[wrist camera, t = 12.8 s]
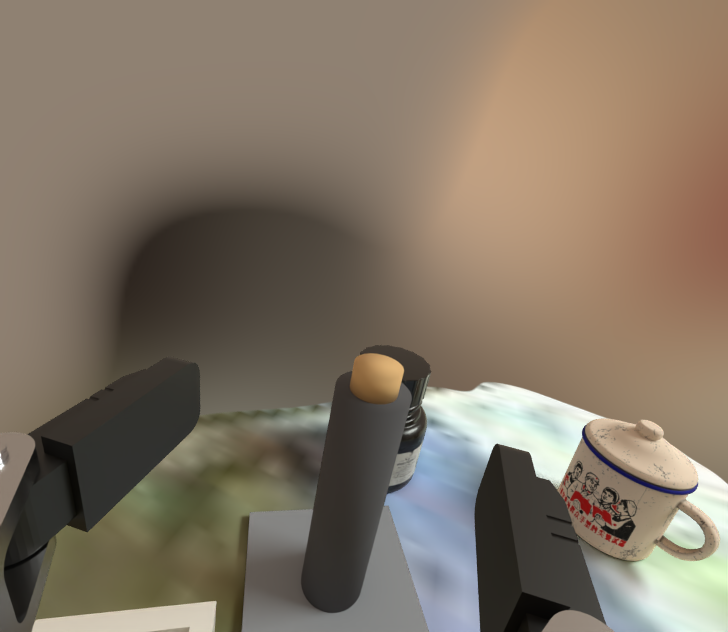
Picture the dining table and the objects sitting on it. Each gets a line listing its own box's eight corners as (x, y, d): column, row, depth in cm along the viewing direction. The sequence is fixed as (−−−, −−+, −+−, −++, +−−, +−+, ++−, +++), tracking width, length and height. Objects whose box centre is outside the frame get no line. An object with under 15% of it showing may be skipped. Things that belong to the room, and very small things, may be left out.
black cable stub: (355, 548, 30) (403, 349, 24) (368, 608, 26) (430, 388, 20) (299, 553, 29) (334, 344, 23) (303, 616, 25) (347, 385, 19)
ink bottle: (411, 510, 35) (444, 400, 31) (319, 485, 36) (338, 375, 32) (414, 442, 44) (440, 350, 40) (341, 424, 45) (358, 332, 41)
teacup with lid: (533, 497, 39) (574, 402, 35) (585, 477, 44) (628, 391, 40) (656, 616, 30) (733, 504, 26) (708, 576, 34) (781, 475, 30)
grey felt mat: (387, 509, 35) (388, 505, 34) (438, 671, 24) (440, 666, 24) (249, 516, 32) (249, 512, 31) (236, 706, 21) (237, 700, 21)
